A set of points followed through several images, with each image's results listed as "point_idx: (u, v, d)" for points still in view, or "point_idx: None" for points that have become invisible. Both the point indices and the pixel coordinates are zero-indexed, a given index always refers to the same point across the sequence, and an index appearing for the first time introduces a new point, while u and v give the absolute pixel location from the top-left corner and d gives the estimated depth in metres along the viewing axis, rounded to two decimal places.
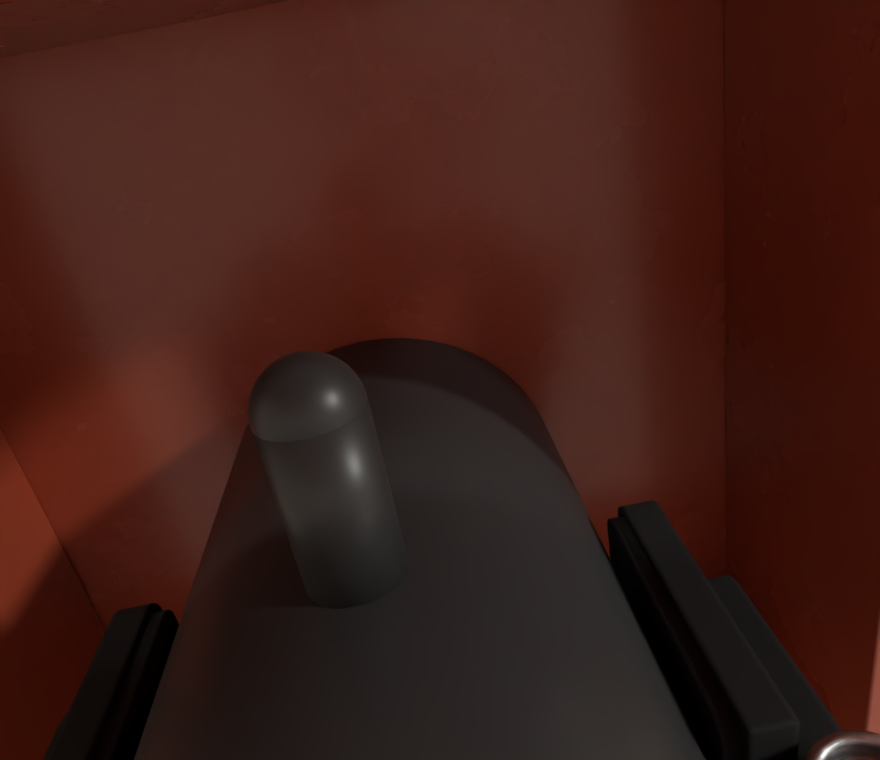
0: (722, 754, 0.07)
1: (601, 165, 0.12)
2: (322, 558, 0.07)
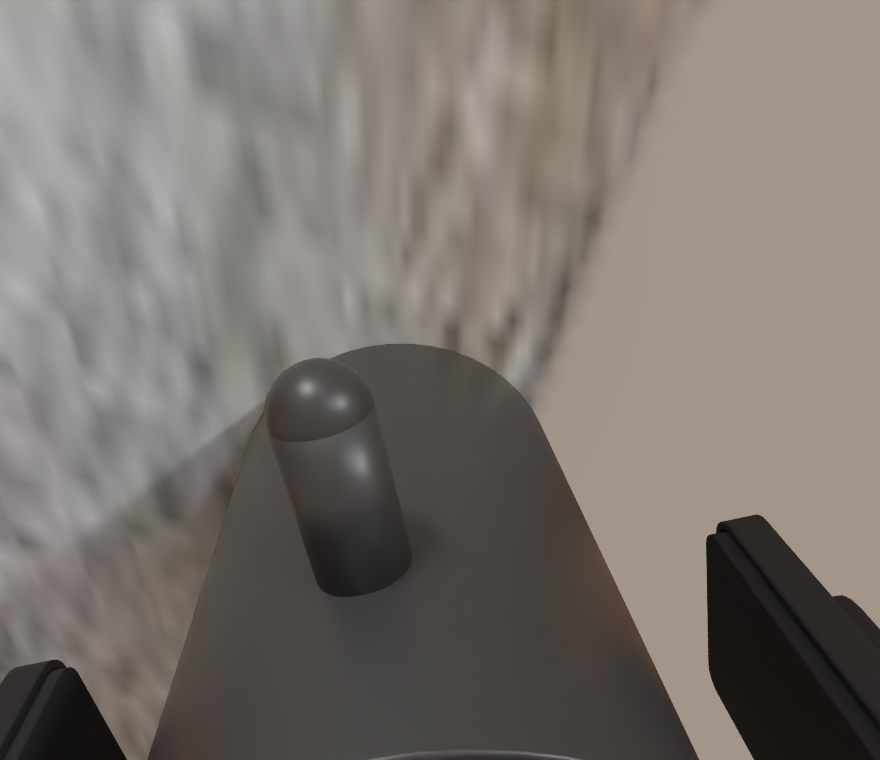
0: None
1: None
2: (332, 550, 0.07)
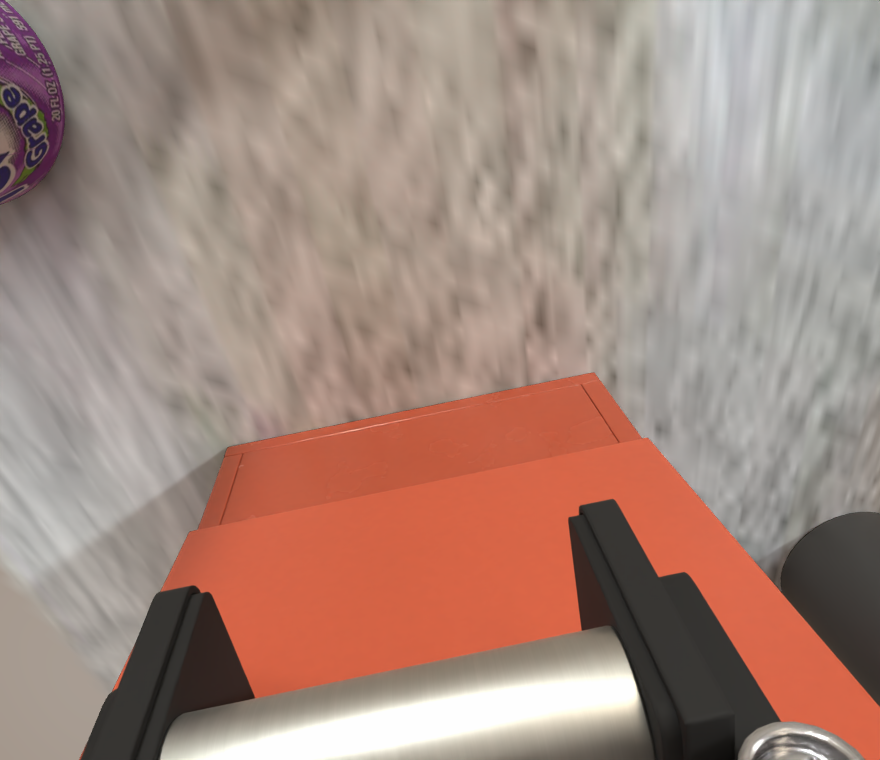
0: (662, 745, 0.07)
1: None
2: None
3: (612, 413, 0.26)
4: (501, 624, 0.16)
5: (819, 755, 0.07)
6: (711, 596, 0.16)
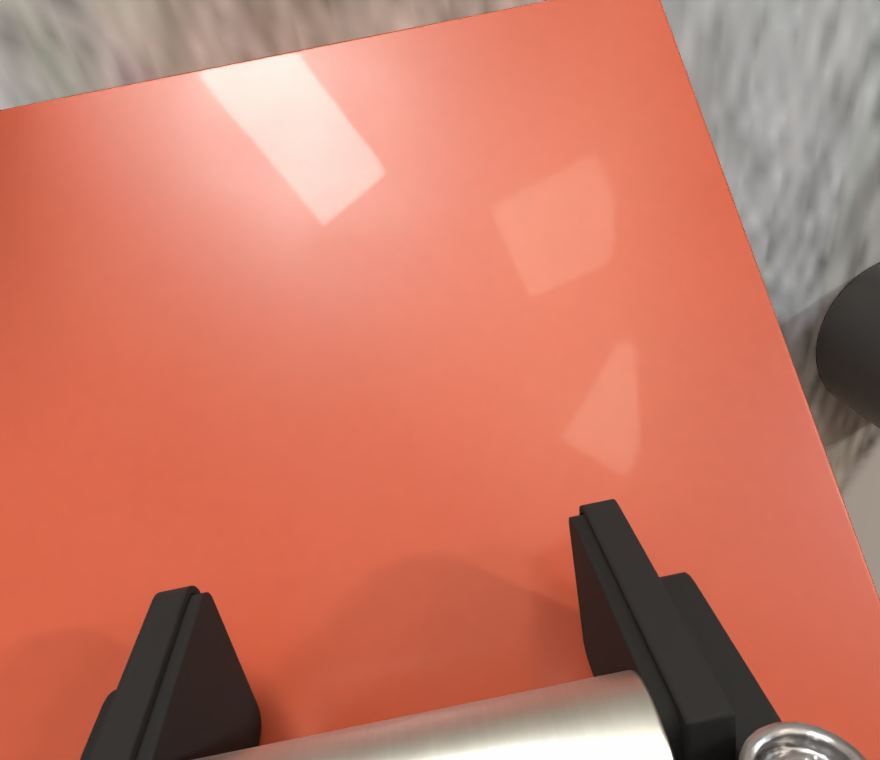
0: None
1: None
2: None
3: None
4: (448, 340, 0.13)
5: (820, 755, 0.07)
6: (697, 316, 0.13)
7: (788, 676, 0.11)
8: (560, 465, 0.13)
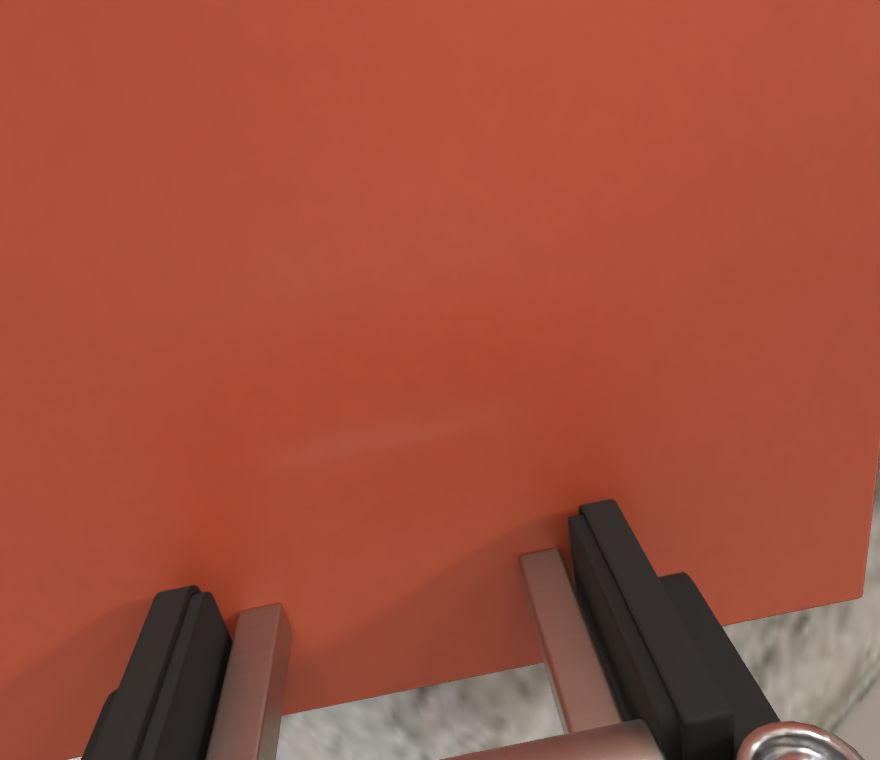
0: (661, 745, 0.07)
1: None
2: None
3: None
4: (423, 148, 0.08)
5: (818, 755, 0.07)
6: (808, 115, 0.09)
7: (760, 533, 0.11)
8: (569, 335, 0.10)
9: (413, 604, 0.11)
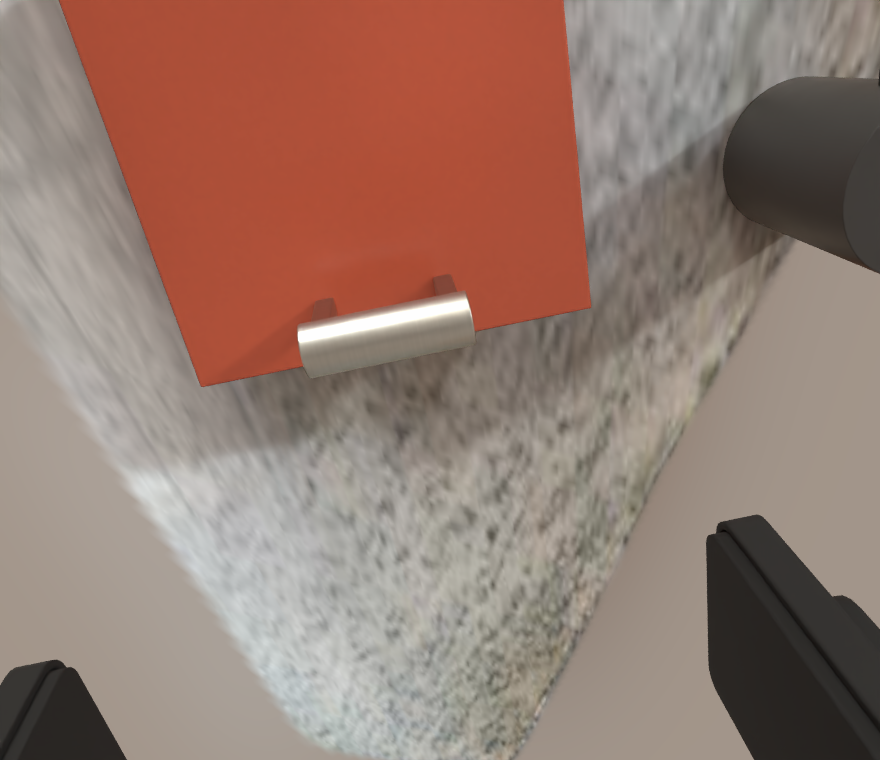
0: None
1: None
2: None
3: None
4: (389, 100, 0.23)
5: None
6: (528, 88, 0.24)
7: (538, 270, 0.26)
8: (447, 174, 0.25)
9: (389, 301, 0.26)
